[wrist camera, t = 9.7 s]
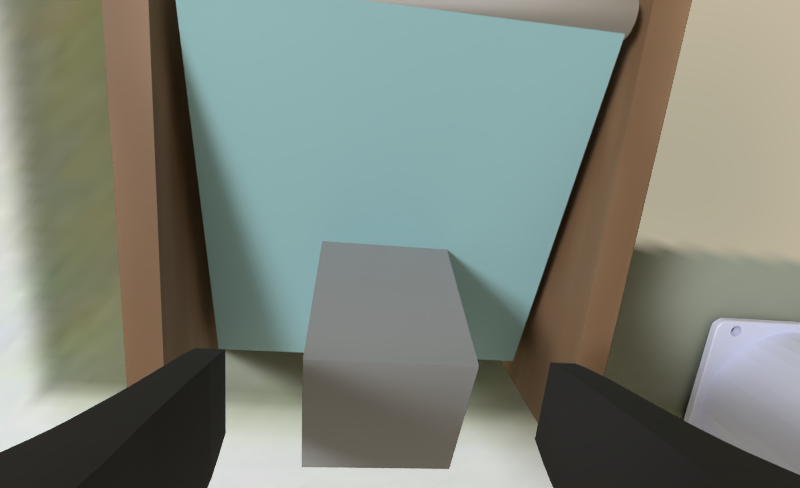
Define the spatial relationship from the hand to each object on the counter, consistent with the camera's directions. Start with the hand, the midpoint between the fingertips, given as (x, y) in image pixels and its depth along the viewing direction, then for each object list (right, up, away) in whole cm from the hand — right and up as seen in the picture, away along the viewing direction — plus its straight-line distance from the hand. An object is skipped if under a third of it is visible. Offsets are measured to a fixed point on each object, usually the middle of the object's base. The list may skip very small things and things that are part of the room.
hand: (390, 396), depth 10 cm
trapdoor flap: (0, +8, +6) cm, 10 cm away
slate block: (0, +2, +6) cm, 6 cm away
